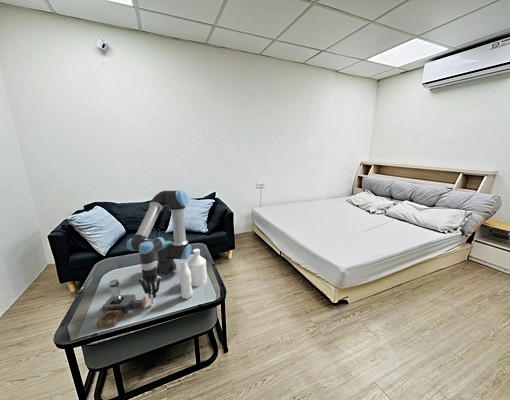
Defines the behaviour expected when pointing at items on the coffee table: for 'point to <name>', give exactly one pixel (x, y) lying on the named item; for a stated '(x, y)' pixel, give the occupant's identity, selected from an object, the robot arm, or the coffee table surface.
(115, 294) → the peg
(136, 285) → the coffee table surface
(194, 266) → the bottle
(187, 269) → the water bottle
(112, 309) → the socket block
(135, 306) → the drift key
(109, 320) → the brown square tray
